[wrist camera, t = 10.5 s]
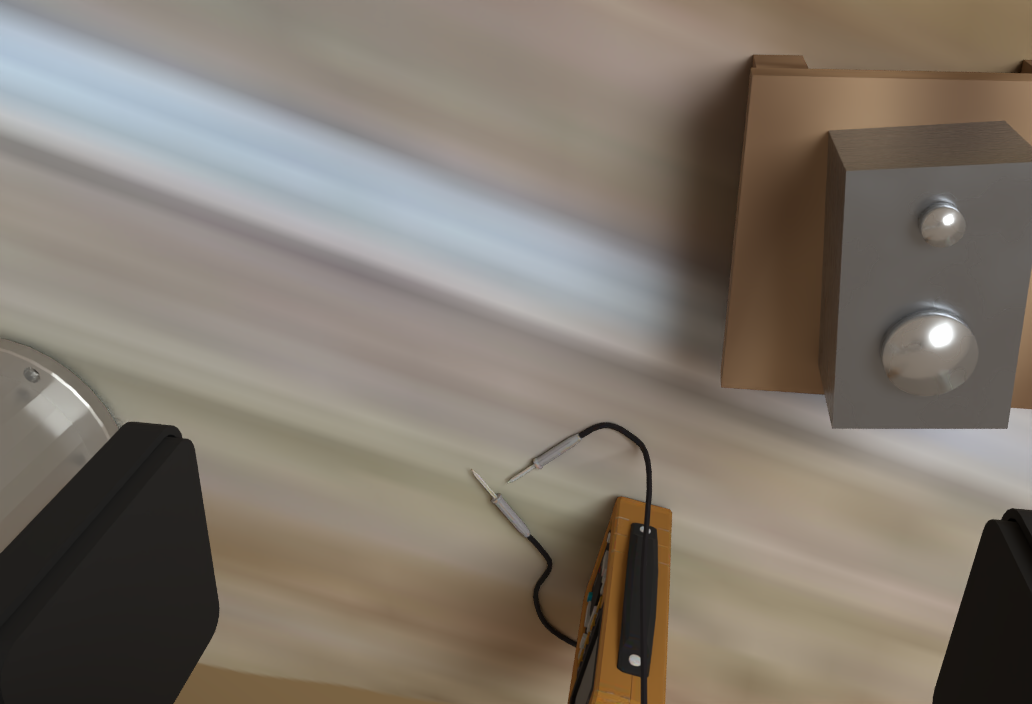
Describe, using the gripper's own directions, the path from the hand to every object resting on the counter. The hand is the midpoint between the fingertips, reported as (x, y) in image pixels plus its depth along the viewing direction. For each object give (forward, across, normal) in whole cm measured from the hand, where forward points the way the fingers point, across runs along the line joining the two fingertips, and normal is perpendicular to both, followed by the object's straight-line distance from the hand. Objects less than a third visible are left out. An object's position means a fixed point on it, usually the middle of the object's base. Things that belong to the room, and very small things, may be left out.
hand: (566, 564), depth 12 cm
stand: (+30, -10, +5) cm, 32 cm away
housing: (+24, -10, +5) cm, 27 cm away
